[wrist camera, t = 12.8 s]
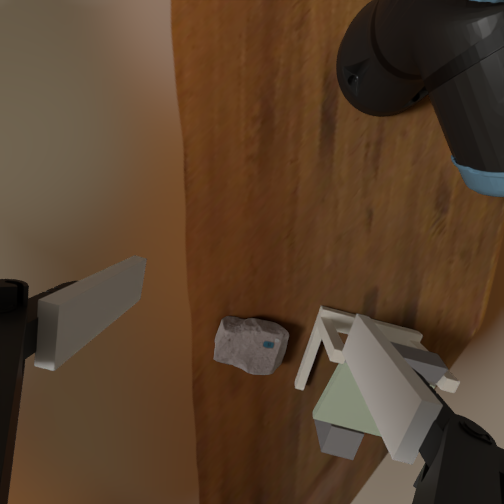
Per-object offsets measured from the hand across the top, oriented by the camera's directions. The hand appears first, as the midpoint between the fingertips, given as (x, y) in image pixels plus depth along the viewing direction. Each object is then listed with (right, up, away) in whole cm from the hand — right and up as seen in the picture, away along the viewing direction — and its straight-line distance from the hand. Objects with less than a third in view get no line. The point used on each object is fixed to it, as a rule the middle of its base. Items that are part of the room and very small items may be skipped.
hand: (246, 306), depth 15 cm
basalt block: (+17, -31, +31) cm, 47 cm away
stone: (+1, -13, +35) cm, 37 cm away
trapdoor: (+20, -18, +27) cm, 38 cm away
